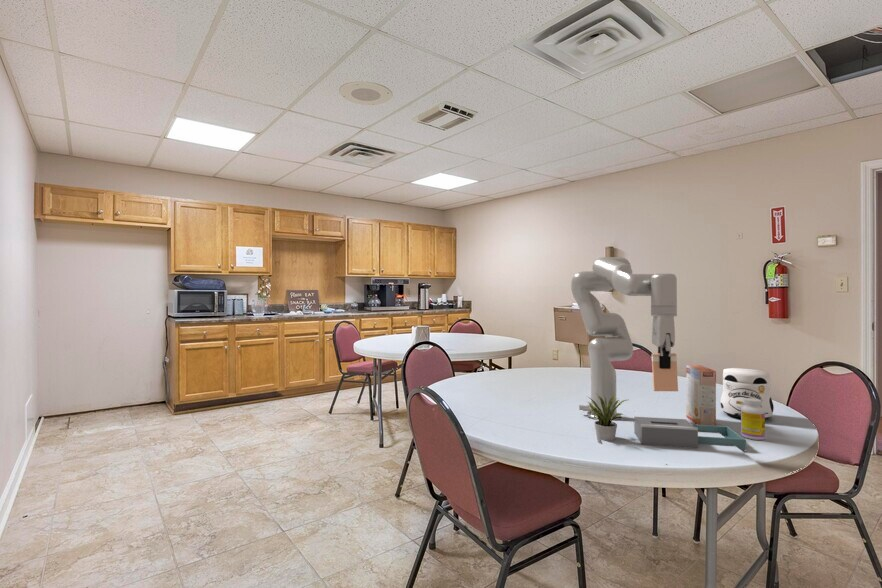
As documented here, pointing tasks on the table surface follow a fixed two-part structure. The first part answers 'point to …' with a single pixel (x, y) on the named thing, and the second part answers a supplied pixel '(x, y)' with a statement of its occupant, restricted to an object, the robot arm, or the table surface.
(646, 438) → the dispenser
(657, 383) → the peach slab cream top
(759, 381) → the milk container
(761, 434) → the supplement bottle
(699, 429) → the tray
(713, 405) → the cracker box
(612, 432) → the house plant
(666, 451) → the table surface
